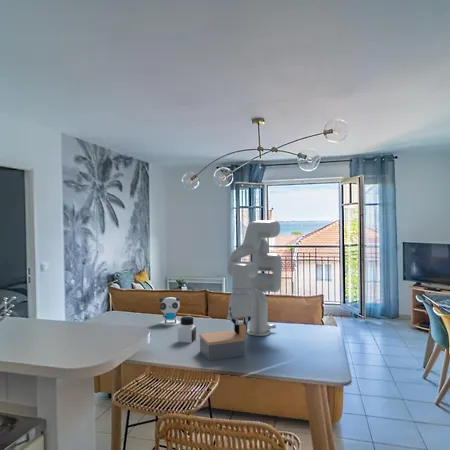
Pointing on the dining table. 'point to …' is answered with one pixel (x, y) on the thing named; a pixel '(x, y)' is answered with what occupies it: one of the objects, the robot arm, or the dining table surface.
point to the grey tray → (222, 350)
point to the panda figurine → (170, 310)
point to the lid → (225, 336)
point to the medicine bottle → (187, 330)
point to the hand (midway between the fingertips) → (240, 332)
